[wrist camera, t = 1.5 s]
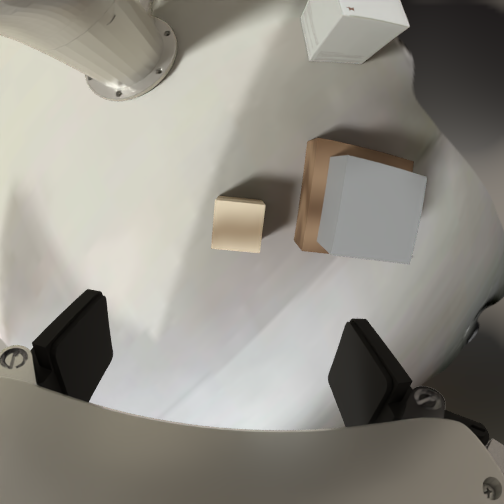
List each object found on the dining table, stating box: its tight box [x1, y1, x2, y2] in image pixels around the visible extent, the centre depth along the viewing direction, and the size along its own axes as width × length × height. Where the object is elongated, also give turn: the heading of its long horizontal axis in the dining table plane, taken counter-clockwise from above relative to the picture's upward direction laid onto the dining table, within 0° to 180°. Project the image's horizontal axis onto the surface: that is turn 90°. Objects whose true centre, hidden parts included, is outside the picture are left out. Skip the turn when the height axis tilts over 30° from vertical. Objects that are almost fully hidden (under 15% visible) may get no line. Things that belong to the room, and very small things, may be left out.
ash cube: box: [211, 196, 265, 253], centre depth 31 cm, size 5×5×5 cm
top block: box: [317, 155, 427, 264], centre depth 26 cm, size 9×9×5 cm
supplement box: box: [301, 0, 410, 64], centre depth 21 cm, size 7×7×13 cm
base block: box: [294, 138, 414, 254], centre depth 31 cm, size 12×12×5 cm
